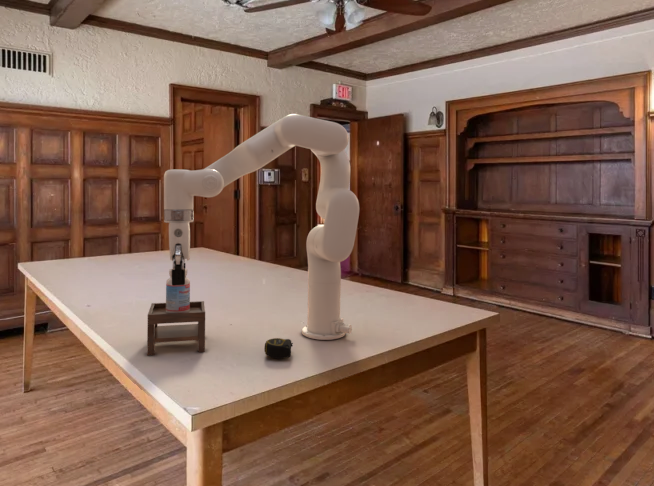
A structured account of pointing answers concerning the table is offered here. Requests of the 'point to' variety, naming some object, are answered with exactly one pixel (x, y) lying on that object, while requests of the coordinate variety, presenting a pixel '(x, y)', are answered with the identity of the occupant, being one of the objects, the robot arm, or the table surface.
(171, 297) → the pill bottle
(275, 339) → the tape measure
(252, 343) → the table surface
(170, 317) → the rack
